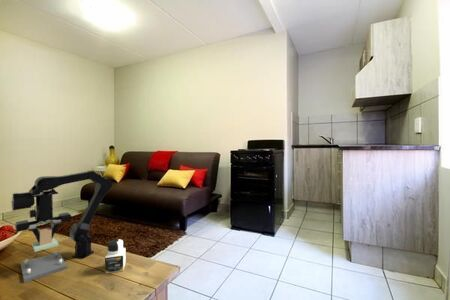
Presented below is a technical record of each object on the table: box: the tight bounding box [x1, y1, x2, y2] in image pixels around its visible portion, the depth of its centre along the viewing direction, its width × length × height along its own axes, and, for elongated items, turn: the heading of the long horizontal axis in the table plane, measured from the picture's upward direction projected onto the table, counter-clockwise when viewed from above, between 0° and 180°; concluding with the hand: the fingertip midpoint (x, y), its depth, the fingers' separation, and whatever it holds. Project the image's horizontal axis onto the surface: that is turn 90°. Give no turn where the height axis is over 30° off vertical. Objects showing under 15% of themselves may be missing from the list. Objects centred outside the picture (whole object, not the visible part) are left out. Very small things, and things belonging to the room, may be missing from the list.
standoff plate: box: [20, 250, 68, 283], centre depth 98 cm, size 18×14×3 cm
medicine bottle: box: [104, 238, 127, 274], centre depth 97 cm, size 7×7×12 cm
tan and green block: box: [31, 226, 59, 253], centre depth 97 cm, size 8×8×7 cm
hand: (45, 240), depth 97 cm, fingers closed on tan and green block, 4 cm apart
